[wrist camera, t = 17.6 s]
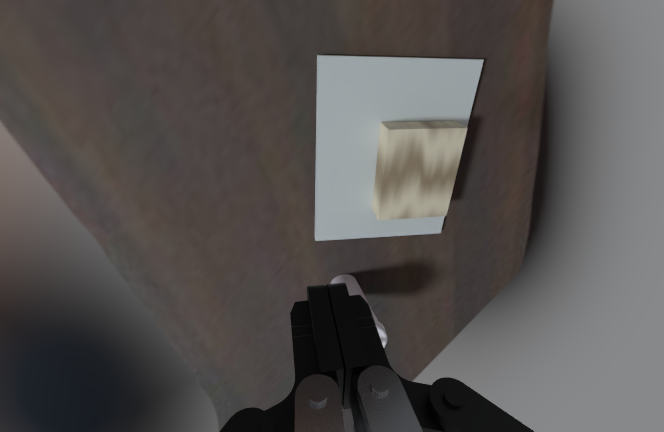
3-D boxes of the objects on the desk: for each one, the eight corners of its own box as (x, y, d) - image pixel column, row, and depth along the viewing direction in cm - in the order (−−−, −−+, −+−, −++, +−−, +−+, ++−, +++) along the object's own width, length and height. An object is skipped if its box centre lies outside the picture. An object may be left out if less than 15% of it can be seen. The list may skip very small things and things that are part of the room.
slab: (388, 129, 31) (467, 127, 32) (380, 121, 33) (454, 120, 34) (378, 220, 36) (446, 216, 37) (371, 208, 38) (436, 204, 39)
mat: (317, 54, 30) (318, 55, 29) (480, 59, 32) (483, 59, 32) (314, 238, 40) (315, 240, 39) (438, 230, 42) (440, 233, 42)
